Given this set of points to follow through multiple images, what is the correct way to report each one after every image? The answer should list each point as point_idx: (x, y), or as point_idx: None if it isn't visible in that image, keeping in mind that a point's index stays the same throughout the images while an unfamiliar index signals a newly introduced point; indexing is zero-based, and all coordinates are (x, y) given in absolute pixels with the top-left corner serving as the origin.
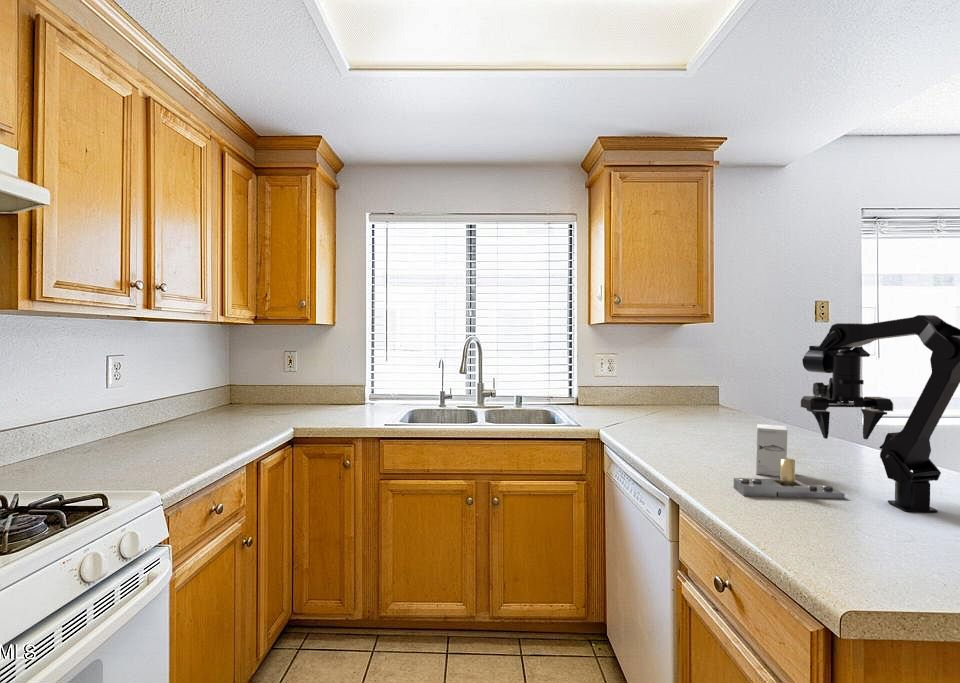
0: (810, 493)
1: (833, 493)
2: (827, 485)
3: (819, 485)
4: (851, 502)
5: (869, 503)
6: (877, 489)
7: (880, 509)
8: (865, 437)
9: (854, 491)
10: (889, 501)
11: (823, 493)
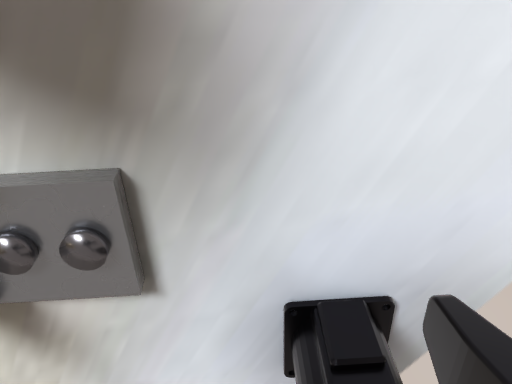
0: (1, 300)
1: (95, 297)
2: (88, 237)
3: (63, 194)
4: (155, 310)
5: (216, 311)
6: (378, 118)
7: (220, 356)
8: (431, 341)
9: (239, 170)
10: (284, 318)
11: (54, 299)
